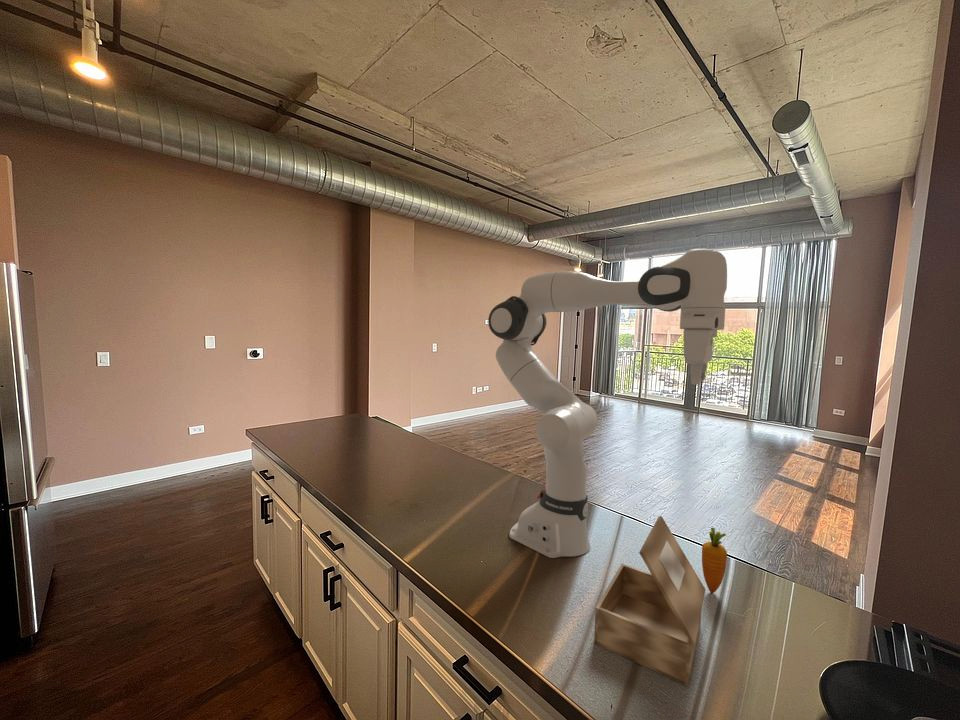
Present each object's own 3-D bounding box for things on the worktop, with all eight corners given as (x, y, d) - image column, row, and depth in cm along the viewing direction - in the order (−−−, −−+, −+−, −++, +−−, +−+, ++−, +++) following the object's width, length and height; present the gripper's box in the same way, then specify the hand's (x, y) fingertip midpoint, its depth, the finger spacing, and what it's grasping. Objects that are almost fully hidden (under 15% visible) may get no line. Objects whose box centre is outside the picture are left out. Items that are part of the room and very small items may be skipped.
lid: (639, 552, 70) (642, 551, 70) (658, 516, 85) (661, 515, 84) (691, 644, 66) (695, 643, 66) (702, 590, 80) (706, 589, 80)
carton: (593, 643, 75) (595, 607, 75) (620, 593, 90) (621, 563, 90) (688, 687, 66) (691, 646, 66) (700, 624, 81) (702, 590, 81)
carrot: (701, 583, 95) (705, 522, 94) (726, 592, 92) (730, 528, 91) (697, 593, 91) (701, 529, 90) (722, 603, 88) (726, 537, 87)
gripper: (691, 323, 101) (688, 378, 102) (679, 319, 84) (675, 385, 85) (721, 323, 97) (717, 380, 98) (714, 319, 80) (709, 387, 81)
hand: (698, 382), depth 91 cm, fingers open, 8 cm apart
